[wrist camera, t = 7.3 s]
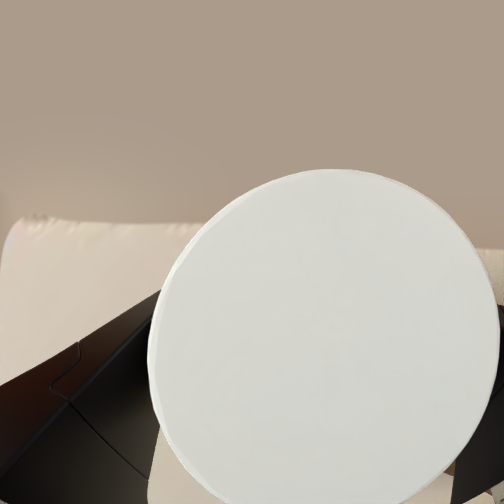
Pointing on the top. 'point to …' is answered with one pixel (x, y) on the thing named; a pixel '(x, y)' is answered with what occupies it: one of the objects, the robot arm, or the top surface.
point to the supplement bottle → (323, 343)
